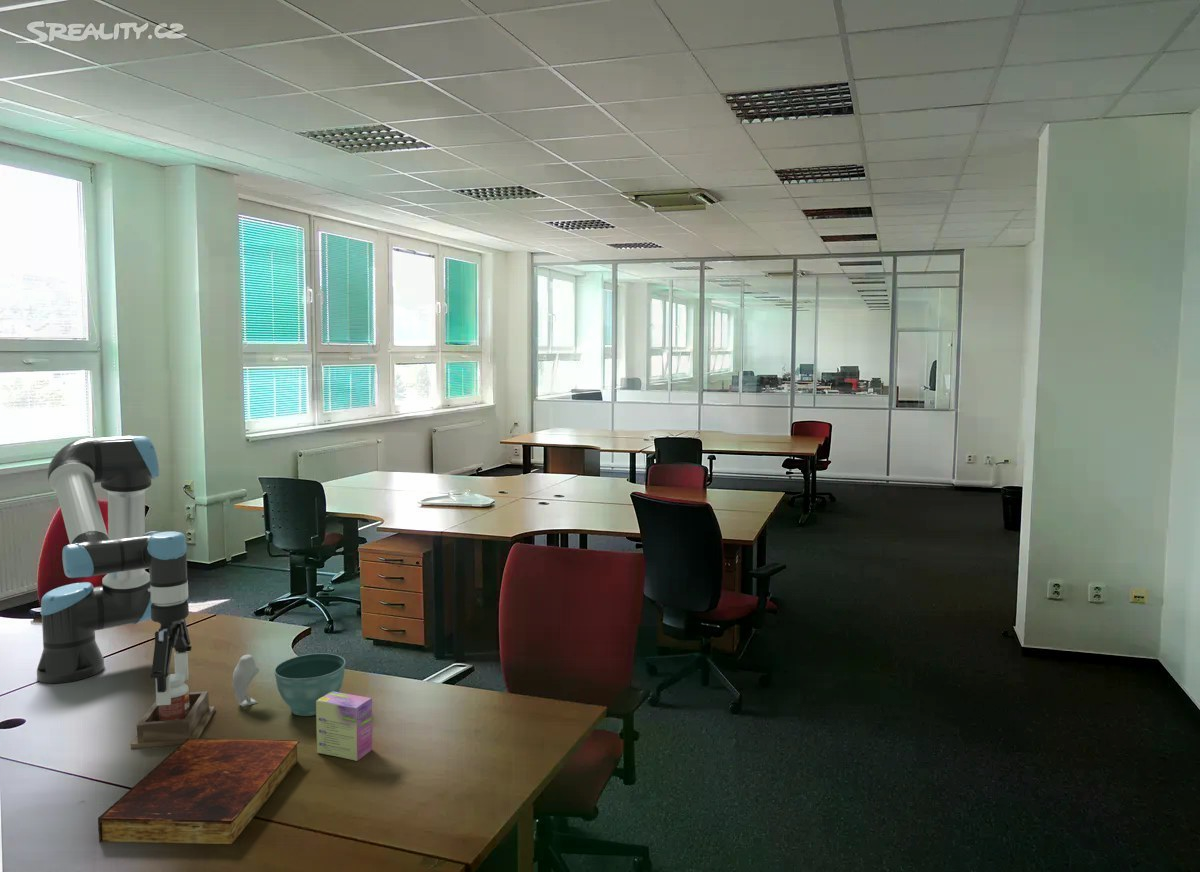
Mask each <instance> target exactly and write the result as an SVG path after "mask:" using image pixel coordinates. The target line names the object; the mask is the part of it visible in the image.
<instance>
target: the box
mask: <svg viewBox="0 0 1200 872" xmlns="http://www.w3.org/2000/svg"><path fill="white" fill-rule="evenodd" d="M315 716H316V717H315V719H316V720H315V721H316V724H315V725H316V726H315V727H316V753H317V754H321V755H327V756H332V757H333V756H334V757H338V758H343V759H346V760H347V759H348V760H351V761H355V762H357V761H359V760H361V759H363V757H364V756H366V755H367V754H369V753H370V752H371V751H373V698H372V697H368V696H363V695H355V694H350V693H344V692H340V691H339V692H334V691H332V692H330V693H328V694H326V695H325V696H323V697H321V698H320V699H318V700H317V701H316V715H315Z"/></svg>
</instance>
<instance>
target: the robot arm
mask: <svg viewBox="0 0 1200 872" xmlns="http://www.w3.org/2000/svg"><path fill="white" fill-rule="evenodd" d="M48 465H49V466H48V470H47V480H48V483H49V487H50V488H51V490H52V491H54V492H55V493H56V496H57V500H58V503H59V506H60V511H61V515H62V518H63V522H64V527H65V530H66V535H67V539H68V541H69V544H67V545H65V546H63V548H62V554H61V555H62V557H61V558H62V565H63V572H64V575H65V576H66V577H67V578H70V579H77V578H89V577H95V576H96V577H97V576H102V575H104V577H102V580H101V581H102V583H101V585H100V586H95V587H94V585H93V584H92V583H91V582H89V581H82V582H76V583H75V582H73V583H70V584H65V585H62V586H58V587H56V588H54V589H51V590H49V591H47V592H45V594H43V596H42V598H41V600H40V602H41V605H40V615H41V624H42V625H41V627H42V628H41V629H42V644H43V646H42V648H43V649H42V652H41V656H40V658H39V662H38V666H37V668H36V679H37V681H38V682H41V683H44V684H62V683H63V684H64V683H70V682H75V681H80V680H83V679H87V678H90V677H92V676H95V675H97V674H100V672H102V671H103V670H104V669H105V660H104V659H105V658H104V656H103V654H102V652H101V650H100V648H99V646H98V643H97V641H96V631H100V630H106V629H111V628H116V627H118V628H119V627H122V626H129V625H137V624H139V623H143V622H146V621H150V620H152V621H153V622H154V623H159V624H160V625H159V626H160V628H158V631H157V630H156V631H155V633H154V650H153V658H152V666H151V667H152V668H151V674H150V679H155V680H154V681H155V699H156V700H155V701H156V705H157V706H159V705H170V704H171V691H170V674H169V671H170V666H171V661H172V660H171V659H172V654H173V656H174V657H173V658H174V674H184V675H185V681H188V680H189V657H188V655H189V654H188V653H189V652H191V651H192V646H191V641H190V635H189V631H188V628H187V627H188V626H187V621H186V618H187V617H188V616H189V614H190V613H189V611H190V610H189V608H190V607H189V600H188V598H189V584H188V583H189V582H188V557H187V552H188V545H187V539H186V535H185V534H184V533H183V532H180V531H161V532H160V531H157V530H155V531H154V530H153V531H151V530H150V531H148V532H146V528H145V526H146V525H145V524H146V519H145V518H146V517H145V515H146V504H145V503H146V498H145V497H146V491H148V489H150V488H151V487H152V479H153V480H155V479H156V478H158V477H159V475H160V469H159V459H158V456H157V451H156V448H155V446H154V443H153V441H152V440H151V439H150V438H149V437H147V436H144V435H120V436H119V435H118V436H108V437H107V436H105V437H86V438H85V437H84V438H80V439H76V440H74V441H72V442H69V443H68V444H66V445H64V446H63V447H62V448H61V449H59V450H58V451H57V452H56V453H55V455H54V456H53V457H52V459H51V460H50V464H48ZM97 483H100V488H101V489H102V490H103V491H105V492H106V493H107V519H108V520H107V527H106V525H105V522H104V518H103V515H102V511H101V507H100V503H99V501H98V498H97V495H96V491H95V488H94V485H93V484H97ZM107 528H108V529H107ZM145 569H148V571H149V572H148V571H147V570H145ZM173 649H174V650H175V652H174V653H173Z"/></svg>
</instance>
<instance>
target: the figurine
mask: <svg viewBox="0 0 1200 872" xmlns="http://www.w3.org/2000/svg"><path fill="white" fill-rule="evenodd" d="M259 672H260V668H259V666H258V665H257V663H256V662H255V658H254V657H253V655H251V654H244V655H241V657H240V658H239V661H238V663H237V665H236V666H235V668H234V670H233V674H232V688H233V693H234V695H235V696H234V697H235V698H236V701H237V703H238V705H239V706H241V707H242V708H243V707H247V706H250V705H255V704H258V701H257V700H255V698H252V697H251V696H250V695H249V694H248V689H249V686H250V684H251V682H252V681H253V679H254V678H255V676H256V675H257V674H258V673H259Z"/></svg>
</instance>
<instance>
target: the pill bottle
mask: <svg viewBox="0 0 1200 872" xmlns="http://www.w3.org/2000/svg"><path fill="white" fill-rule="evenodd" d="M169 675H170V691H171V704H170V705H159V721H167V720H179V719H185V717H186V716H187V714H188V713H189V711H190V707H189V692H190V690H189V686H188V684H186V680H185V675H184V674H175V673H171V674H169Z"/></svg>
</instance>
